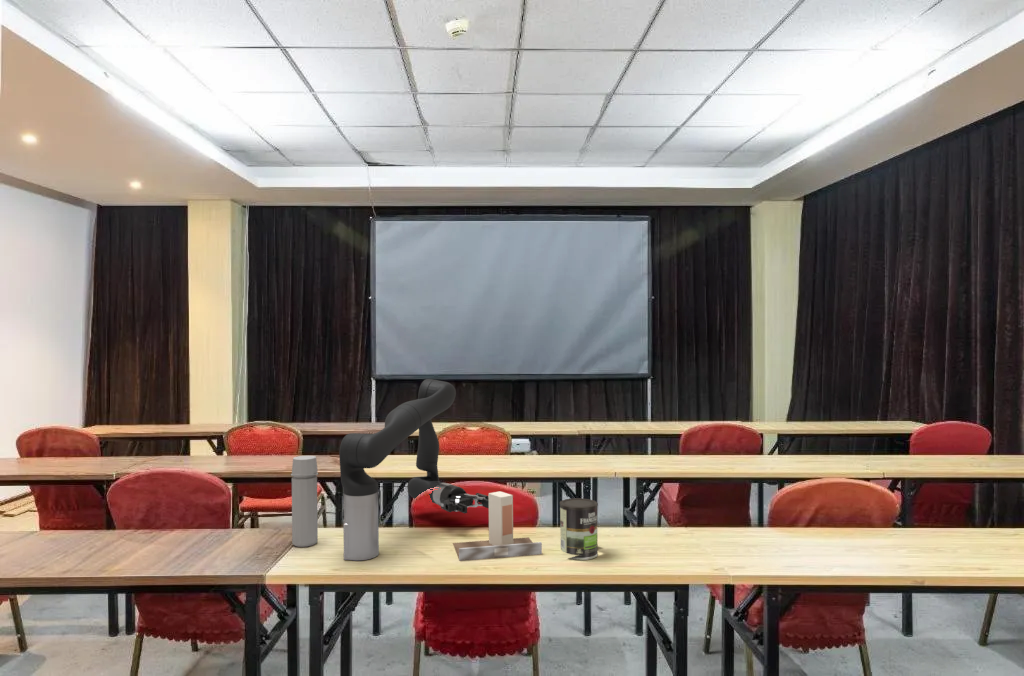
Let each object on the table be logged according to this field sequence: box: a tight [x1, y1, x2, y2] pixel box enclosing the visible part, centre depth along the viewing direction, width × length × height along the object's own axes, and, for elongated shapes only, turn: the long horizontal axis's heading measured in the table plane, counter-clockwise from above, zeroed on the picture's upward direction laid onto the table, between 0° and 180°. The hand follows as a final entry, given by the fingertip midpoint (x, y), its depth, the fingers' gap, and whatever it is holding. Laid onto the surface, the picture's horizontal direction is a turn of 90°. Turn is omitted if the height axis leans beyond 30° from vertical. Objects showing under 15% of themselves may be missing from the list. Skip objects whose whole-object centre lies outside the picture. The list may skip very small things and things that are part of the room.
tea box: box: [488, 491, 514, 546], centre depth 182 cm, size 4×6×14 cm, turn 37°
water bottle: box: [290, 455, 319, 548], centre depth 190 cm, size 9×8×25 cm
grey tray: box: [452, 537, 543, 562], centre depth 178 cm, size 22×15×4 cm
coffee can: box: [559, 497, 599, 561], centre depth 178 cm, size 10×10×14 cm
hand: (478, 507), depth 191 cm, fingers open, 8 cm apart
